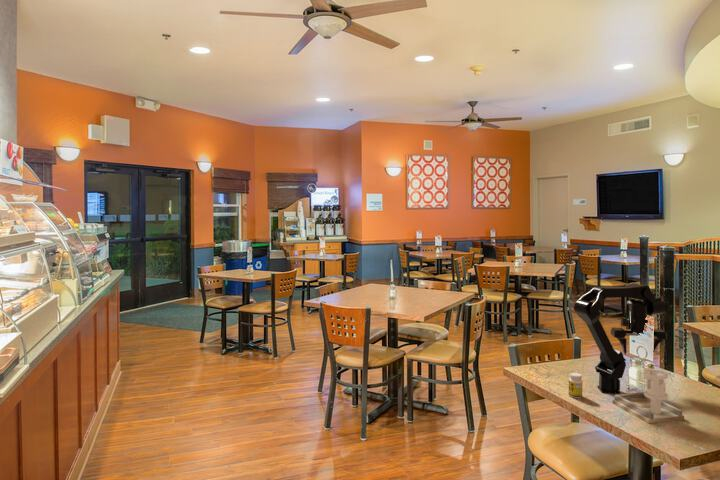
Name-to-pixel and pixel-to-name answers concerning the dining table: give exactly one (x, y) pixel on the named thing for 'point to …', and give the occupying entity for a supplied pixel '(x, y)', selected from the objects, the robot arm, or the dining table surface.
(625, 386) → the dining table surface
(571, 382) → the supplement bottle
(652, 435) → the dining table surface
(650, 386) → the beige tall round piece
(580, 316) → the robot arm
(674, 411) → the rail board
